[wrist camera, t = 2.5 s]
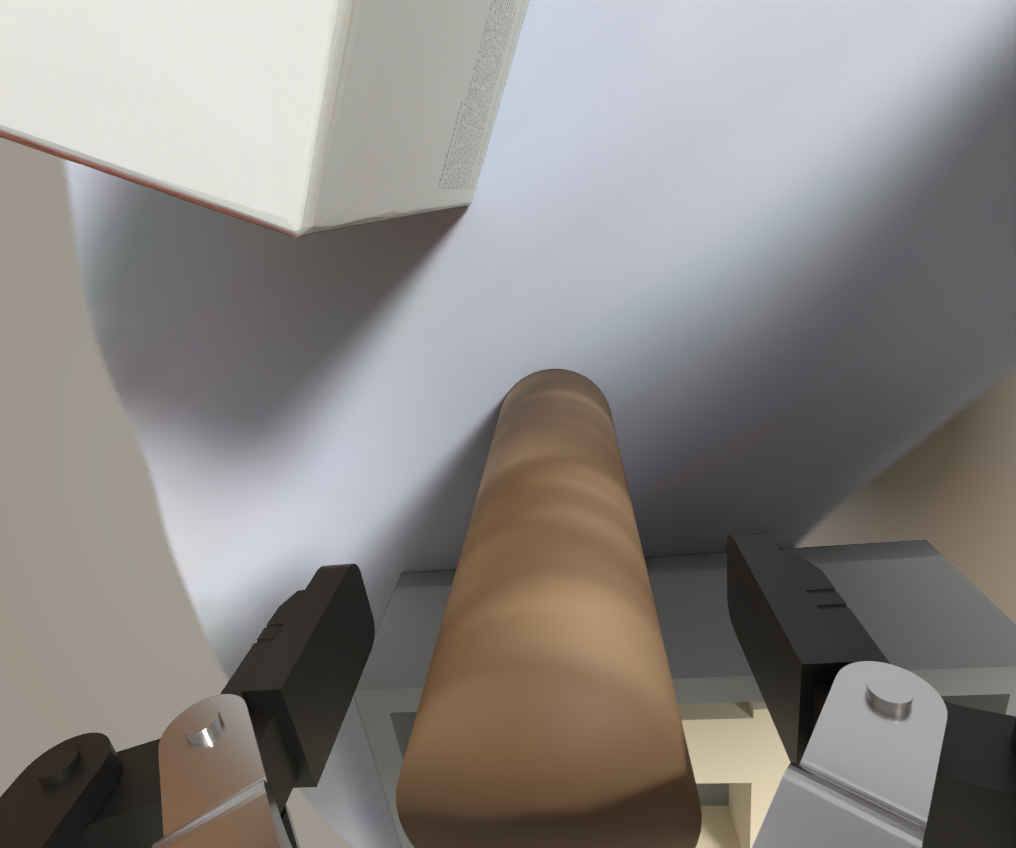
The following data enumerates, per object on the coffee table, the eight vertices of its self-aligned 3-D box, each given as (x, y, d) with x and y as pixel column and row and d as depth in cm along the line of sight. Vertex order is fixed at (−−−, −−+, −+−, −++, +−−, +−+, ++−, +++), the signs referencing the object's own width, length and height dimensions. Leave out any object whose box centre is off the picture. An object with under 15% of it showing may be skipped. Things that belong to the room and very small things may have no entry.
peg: (607, 363, 19) (699, 698, 6) (615, 467, 21) (704, 913, 8) (492, 375, 20) (365, 709, 7) (507, 476, 21) (426, 909, 8)
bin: (926, 539, 21) (1057, 665, 15) (873, 883, 28) (951, 1052, 23) (401, 573, 23) (352, 690, 18) (477, 879, 31) (458, 1030, 25)
